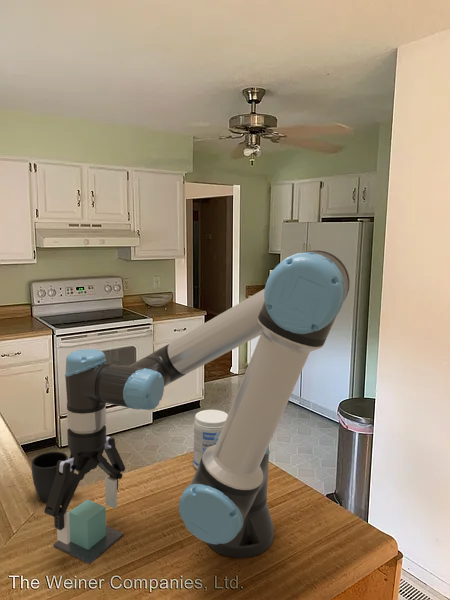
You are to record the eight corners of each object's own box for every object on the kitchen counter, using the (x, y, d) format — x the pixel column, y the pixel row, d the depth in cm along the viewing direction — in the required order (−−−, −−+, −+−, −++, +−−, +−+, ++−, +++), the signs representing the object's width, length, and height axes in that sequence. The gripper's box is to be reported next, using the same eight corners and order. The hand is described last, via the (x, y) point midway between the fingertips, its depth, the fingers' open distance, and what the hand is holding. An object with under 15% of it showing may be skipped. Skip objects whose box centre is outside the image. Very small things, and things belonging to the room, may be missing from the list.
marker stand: (123, 535, 101) (123, 509, 100) (89, 564, 92) (88, 536, 91) (89, 520, 105) (88, 495, 104) (53, 546, 97) (52, 519, 96)
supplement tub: (203, 478, 124) (204, 425, 122) (187, 462, 132) (187, 412, 130) (234, 469, 129) (236, 418, 127) (216, 454, 137) (218, 406, 135)
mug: (74, 509, 109) (73, 471, 108) (26, 504, 111) (24, 466, 109) (89, 489, 117) (88, 454, 116) (43, 485, 119) (42, 450, 117)
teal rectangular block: (106, 535, 100) (105, 506, 99) (88, 549, 95) (87, 520, 94) (87, 527, 102) (87, 499, 101) (69, 541, 98) (68, 512, 97)
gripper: (114, 402, 107) (115, 488, 110) (21, 446, 85) (26, 551, 89) (140, 409, 104) (141, 498, 107) (50, 457, 82) (54, 566, 85)
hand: (88, 522), depth 98 cm, fingers open, 13 cm apart
